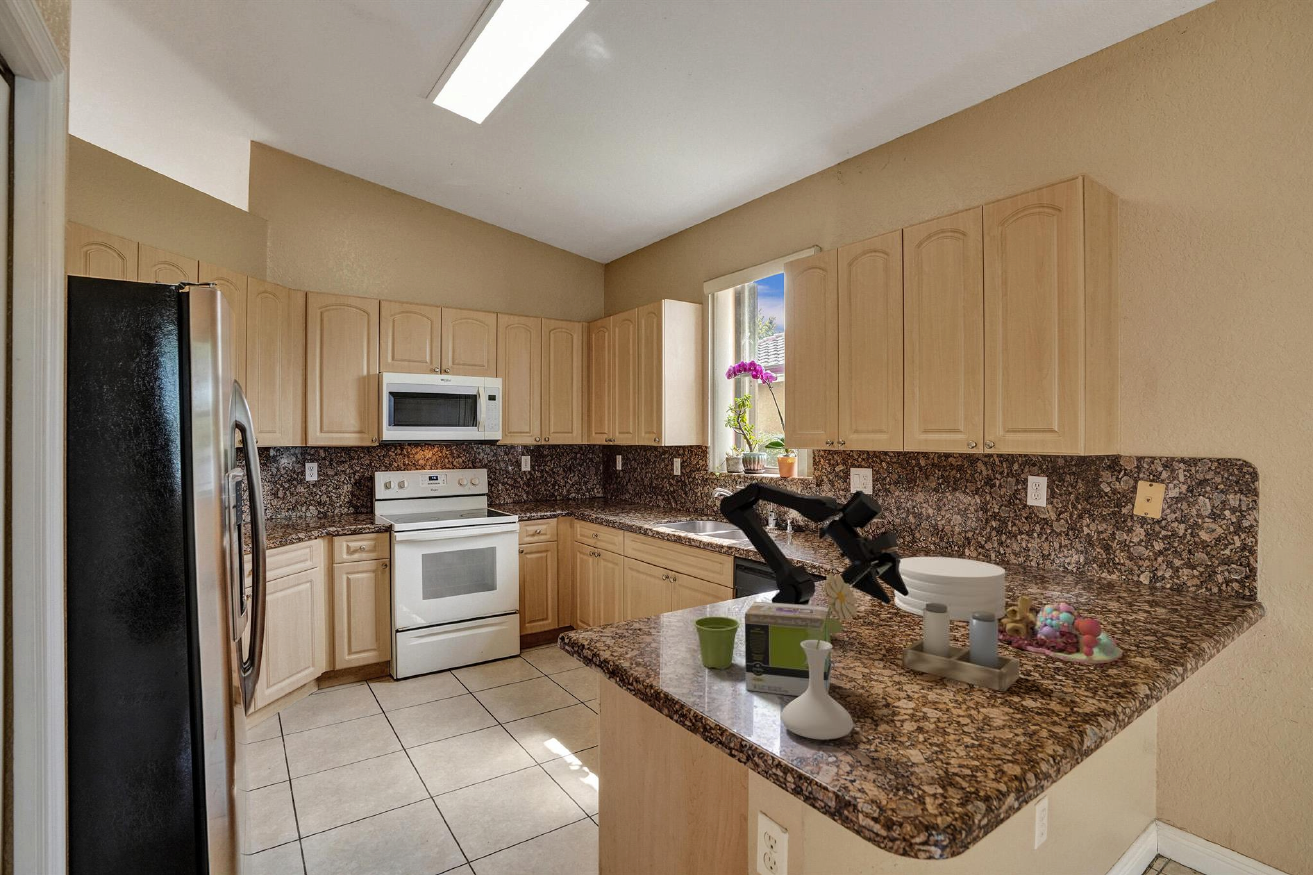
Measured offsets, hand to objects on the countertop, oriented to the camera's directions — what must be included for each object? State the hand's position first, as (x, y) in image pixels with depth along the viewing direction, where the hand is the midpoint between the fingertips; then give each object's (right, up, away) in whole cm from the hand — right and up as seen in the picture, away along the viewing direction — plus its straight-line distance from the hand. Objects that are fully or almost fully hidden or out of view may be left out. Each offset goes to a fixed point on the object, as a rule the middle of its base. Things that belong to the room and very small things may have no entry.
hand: (898, 598), depth 138 cm
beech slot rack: (+9, -12, -9) cm, 18 cm away
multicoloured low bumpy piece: (+40, -13, +10) cm, 43 cm away
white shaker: (+6, -12, -6) cm, 15 cm away
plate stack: (+29, -13, +41) cm, 52 cm away
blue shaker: (+12, -12, -12) cm, 21 cm away
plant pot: (-39, -13, -4) cm, 42 cm away
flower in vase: (-25, -13, -34) cm, 44 cm away
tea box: (-27, -13, -16) cm, 34 cm away
